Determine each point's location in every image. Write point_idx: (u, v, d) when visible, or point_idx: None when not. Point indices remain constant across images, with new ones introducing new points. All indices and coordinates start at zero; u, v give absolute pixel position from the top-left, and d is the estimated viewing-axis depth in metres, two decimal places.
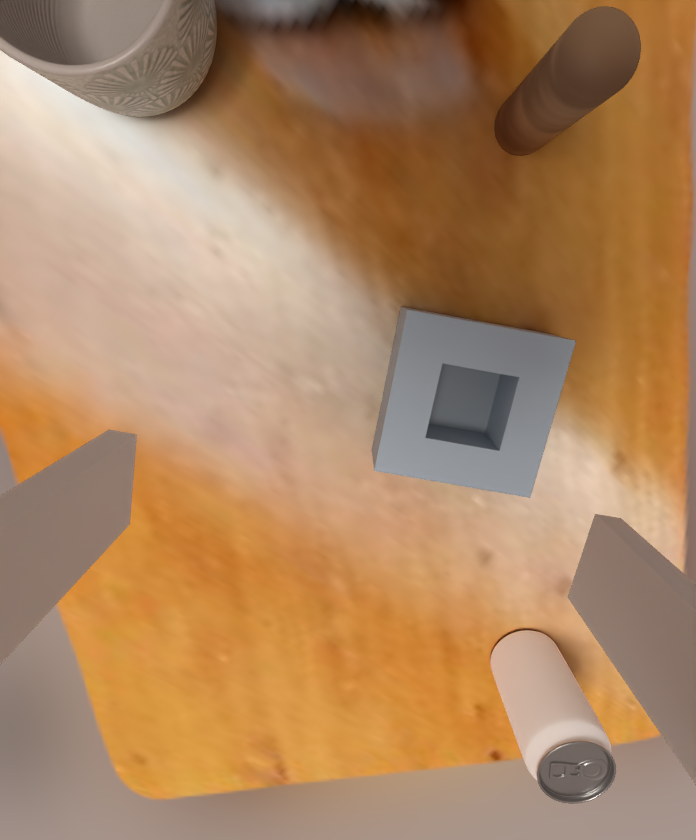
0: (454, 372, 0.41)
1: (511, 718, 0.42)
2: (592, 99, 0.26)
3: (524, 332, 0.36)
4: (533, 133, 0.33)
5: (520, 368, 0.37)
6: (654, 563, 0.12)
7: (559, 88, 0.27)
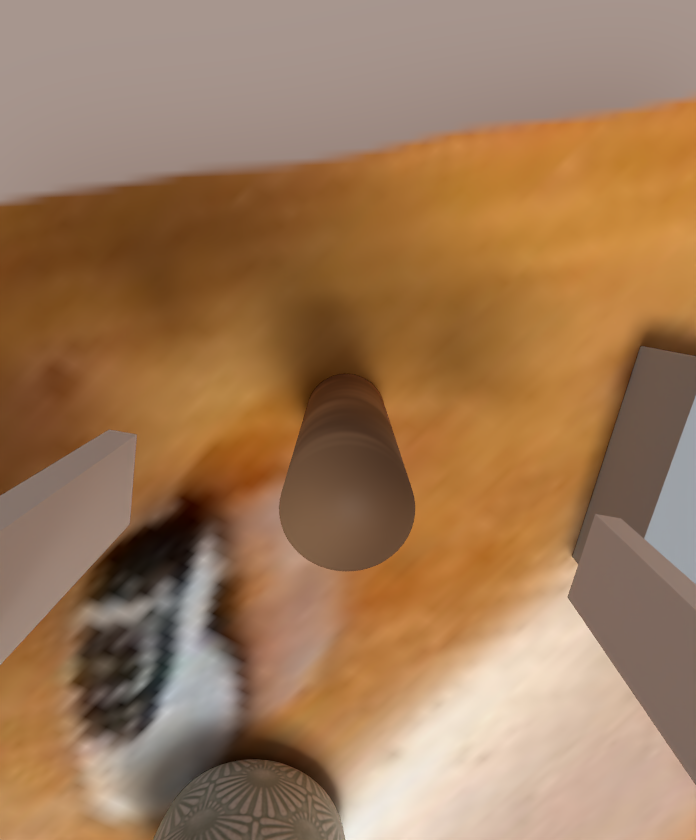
0: None
1: None
2: (414, 512, 0.15)
3: (679, 444, 0.22)
4: None
5: None
6: (654, 563, 0.12)
7: None
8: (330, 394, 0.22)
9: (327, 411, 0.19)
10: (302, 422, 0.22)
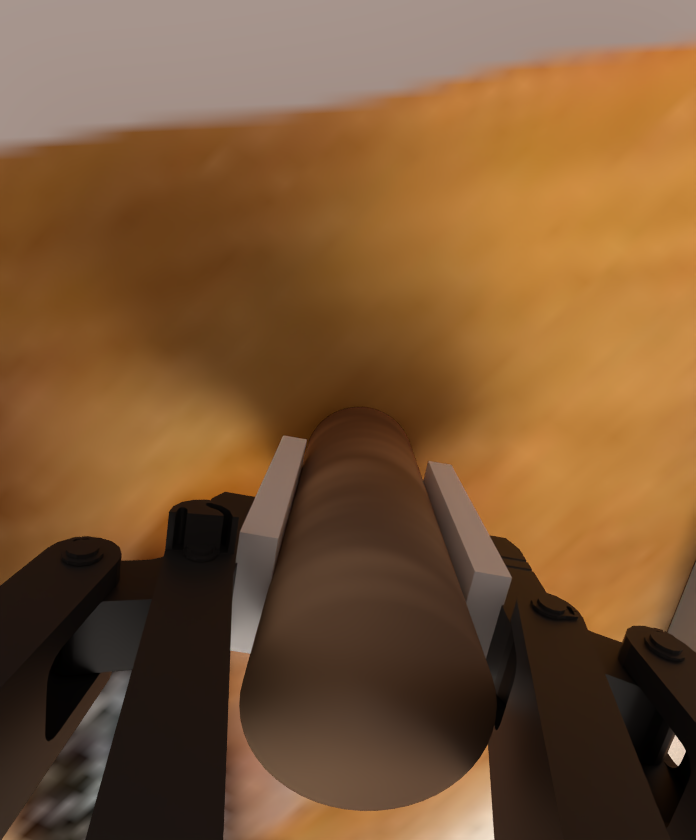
0: None
1: None
2: (495, 714, 0.08)
3: None
4: None
5: None
6: (449, 494, 0.14)
7: None
8: (337, 447, 0.15)
9: (332, 486, 0.12)
10: None
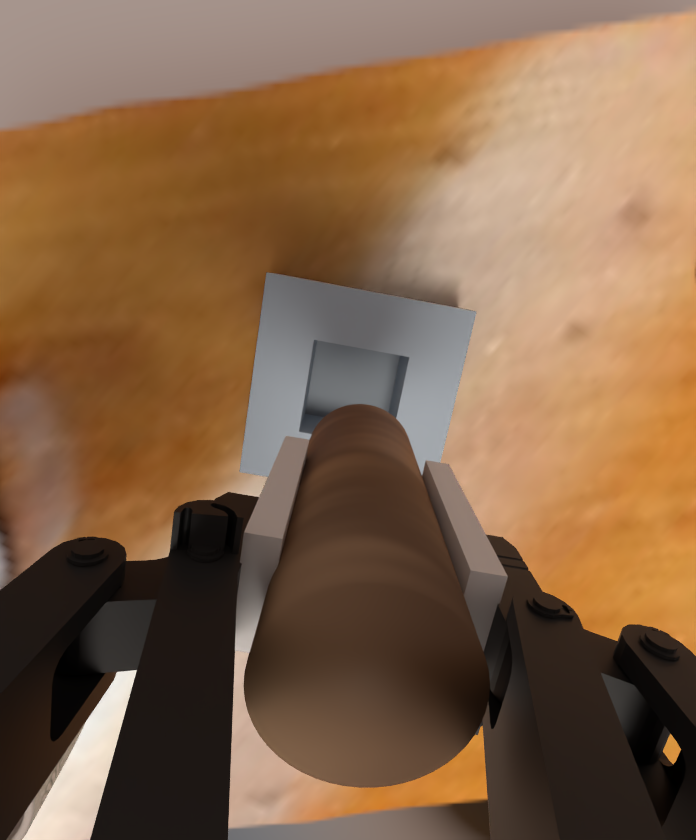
0: (325, 388, 0.35)
1: None
2: (488, 694, 0.08)
3: (259, 337, 0.30)
4: None
5: (302, 339, 0.30)
6: (446, 493, 0.14)
7: None
8: (338, 442, 0.15)
9: (333, 479, 0.12)
10: None
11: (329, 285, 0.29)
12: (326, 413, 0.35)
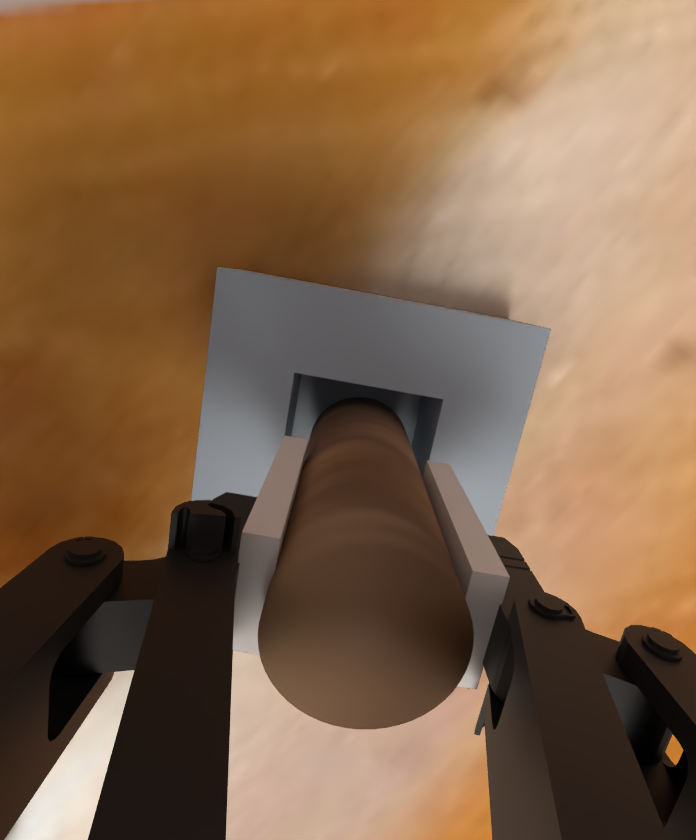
0: None
1: None
2: (472, 644, 0.10)
3: (208, 369, 0.19)
4: None
5: (276, 372, 0.19)
6: (448, 493, 0.14)
7: None
8: (339, 430, 0.16)
9: (335, 462, 0.14)
10: None
11: (318, 287, 0.18)
12: None
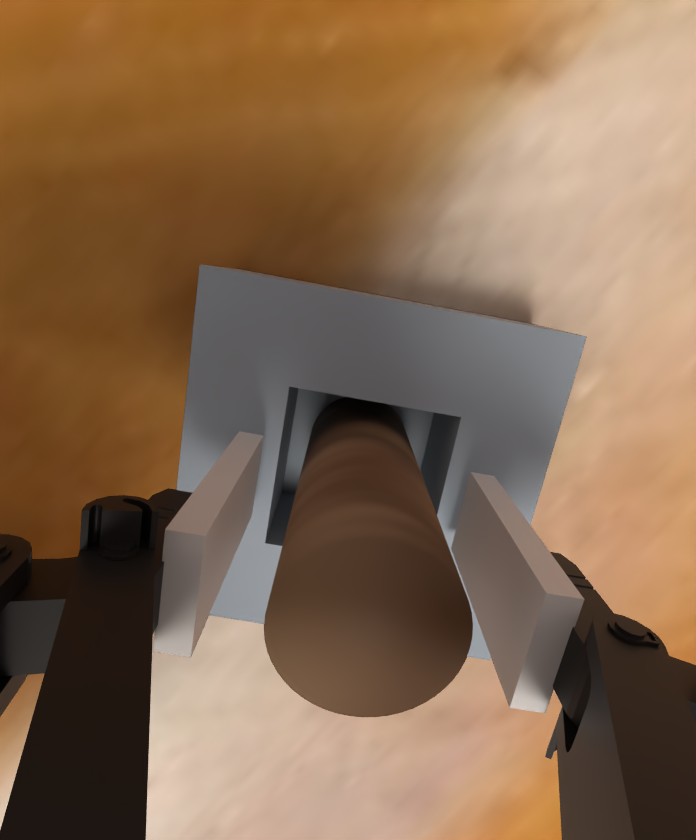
0: None
1: None
2: (472, 634, 0.10)
3: (190, 383, 0.16)
4: None
5: (269, 385, 0.16)
6: (500, 507, 0.14)
7: None
8: (340, 428, 0.17)
9: (336, 459, 0.14)
10: (303, 465, 0.17)
11: (316, 288, 0.16)
12: None
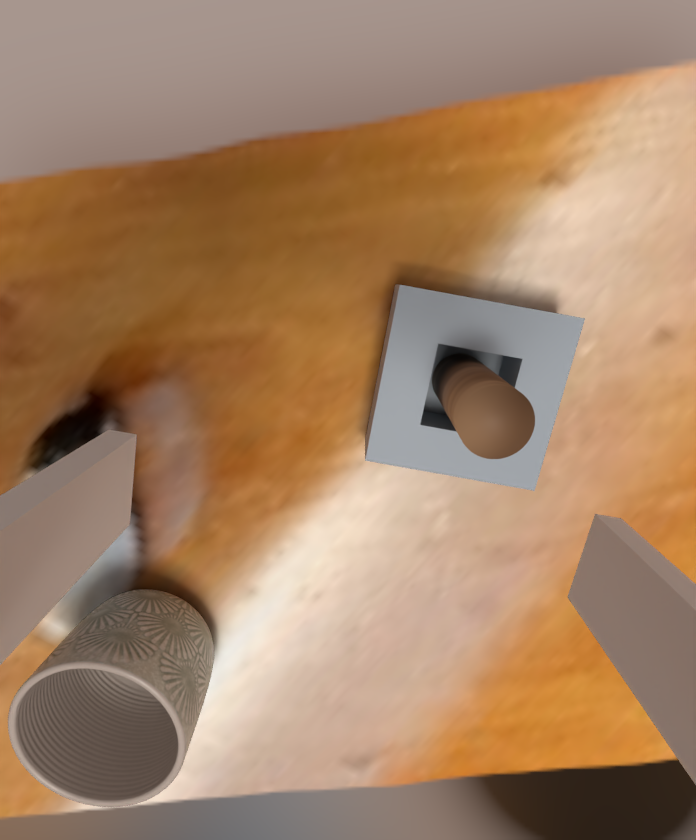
0: None
1: None
2: (534, 424, 0.27)
3: (389, 341, 0.34)
4: None
5: (428, 343, 0.34)
6: (654, 563, 0.12)
7: None
8: (461, 364, 0.34)
9: (468, 372, 0.31)
10: (442, 382, 0.34)
11: (454, 295, 0.33)
12: (433, 409, 0.39)
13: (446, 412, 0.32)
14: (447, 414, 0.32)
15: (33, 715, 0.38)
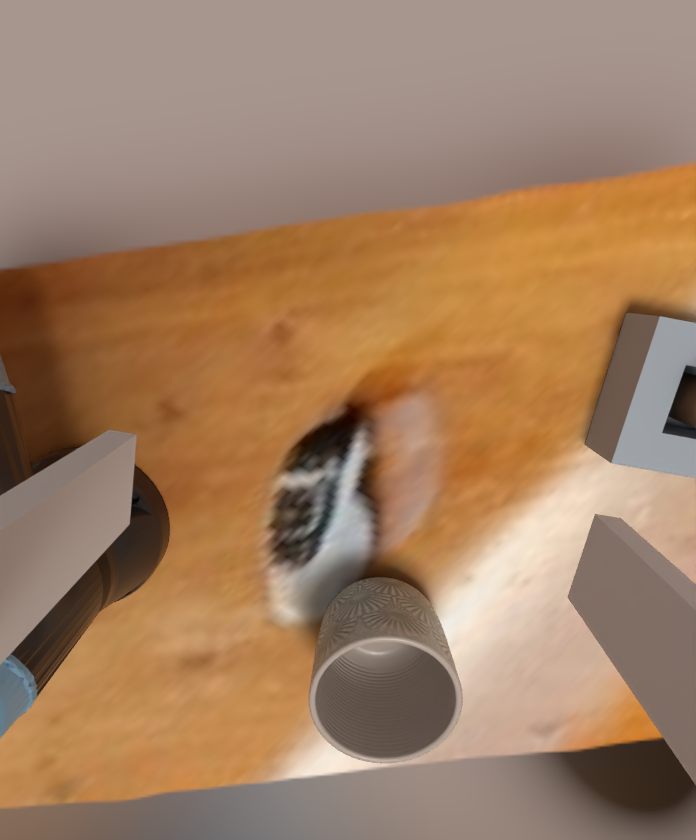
0: None
1: None
2: None
3: (645, 363, 0.40)
4: None
5: (677, 364, 0.40)
6: (654, 563, 0.12)
7: None
8: None
9: None
10: (688, 396, 0.40)
11: None
12: None
13: None
14: None
15: (317, 685, 0.43)
